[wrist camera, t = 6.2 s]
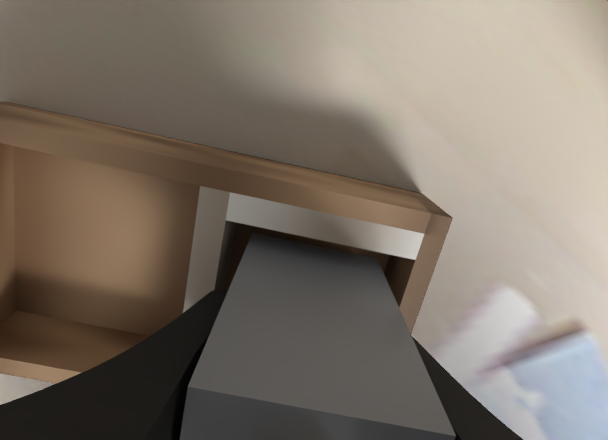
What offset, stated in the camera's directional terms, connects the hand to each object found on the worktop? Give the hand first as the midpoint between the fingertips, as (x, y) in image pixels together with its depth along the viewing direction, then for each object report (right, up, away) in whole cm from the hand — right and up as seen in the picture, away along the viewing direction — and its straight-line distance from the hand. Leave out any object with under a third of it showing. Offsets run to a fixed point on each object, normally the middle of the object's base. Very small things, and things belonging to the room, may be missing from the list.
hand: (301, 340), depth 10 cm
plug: (0, +1, +2) cm, 2 cm away
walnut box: (-4, +2, +3) cm, 5 cm away
